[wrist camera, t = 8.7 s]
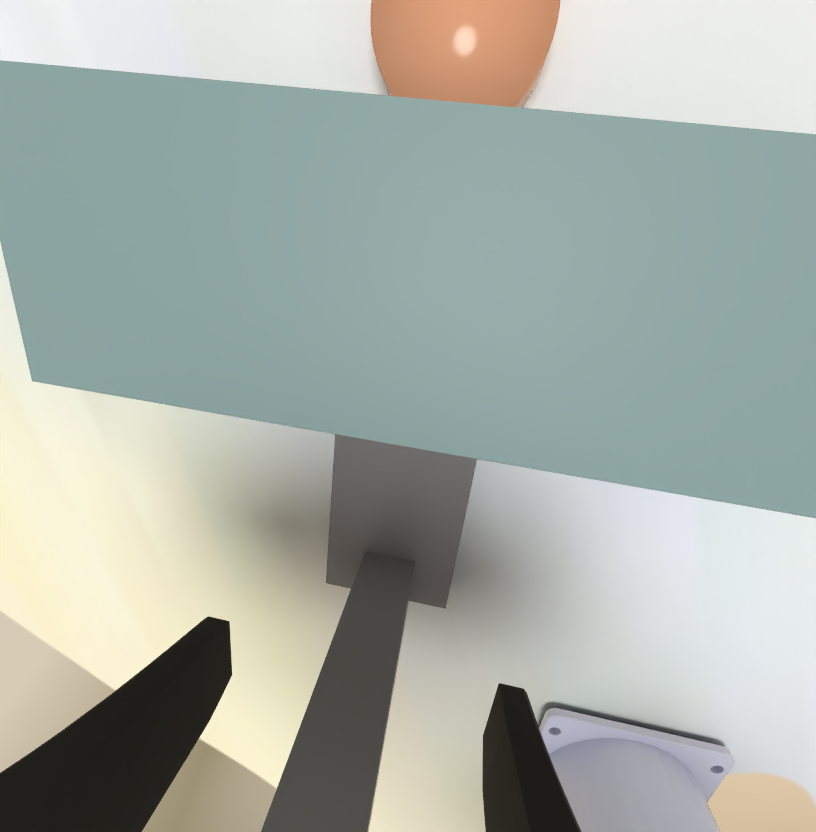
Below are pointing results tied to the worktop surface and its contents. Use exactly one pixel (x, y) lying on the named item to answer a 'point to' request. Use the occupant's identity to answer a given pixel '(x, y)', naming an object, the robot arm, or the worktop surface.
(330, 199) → the grey-green bridge-shaped bar
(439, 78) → the orange rounded disc
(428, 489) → the scraper
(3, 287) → the worktop surface
